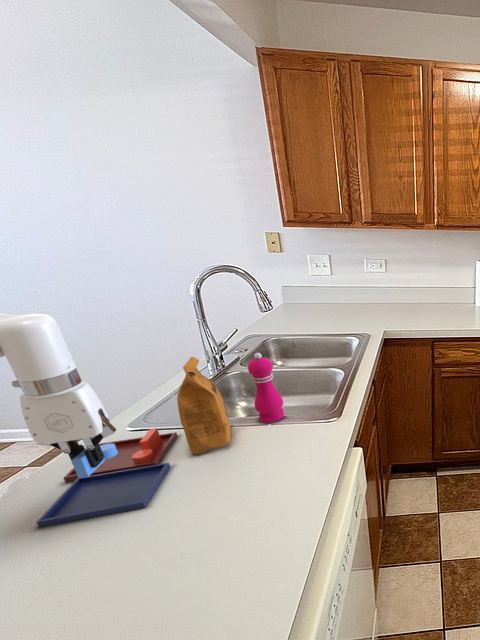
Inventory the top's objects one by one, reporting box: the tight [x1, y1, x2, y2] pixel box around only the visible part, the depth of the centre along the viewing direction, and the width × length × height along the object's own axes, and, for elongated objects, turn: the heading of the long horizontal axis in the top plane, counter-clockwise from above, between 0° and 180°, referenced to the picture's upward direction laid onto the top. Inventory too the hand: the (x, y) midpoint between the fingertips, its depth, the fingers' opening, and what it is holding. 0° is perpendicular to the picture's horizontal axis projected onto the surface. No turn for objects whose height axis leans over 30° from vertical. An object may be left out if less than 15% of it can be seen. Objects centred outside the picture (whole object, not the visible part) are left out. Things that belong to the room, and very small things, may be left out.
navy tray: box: [36, 462, 171, 529], centre depth 84 cm, size 17×14×1 cm
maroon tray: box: [63, 431, 179, 484], centre depth 96 cm, size 17×14×1 cm
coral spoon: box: [132, 427, 162, 465], centre depth 97 cm, size 10×4×4 cm, turn 18°
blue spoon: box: [70, 443, 118, 478], centre depth 81 cm, size 10×4×4 cm, turn 18°
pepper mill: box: [247, 352, 285, 424], centre depth 110 cm, size 7×7×20 cm
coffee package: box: [176, 356, 231, 455], centre depth 99 cm, size 10×12×22 cm
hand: (91, 464), depth 79 cm, fingers closed on blue spoon, 1 cm apart
